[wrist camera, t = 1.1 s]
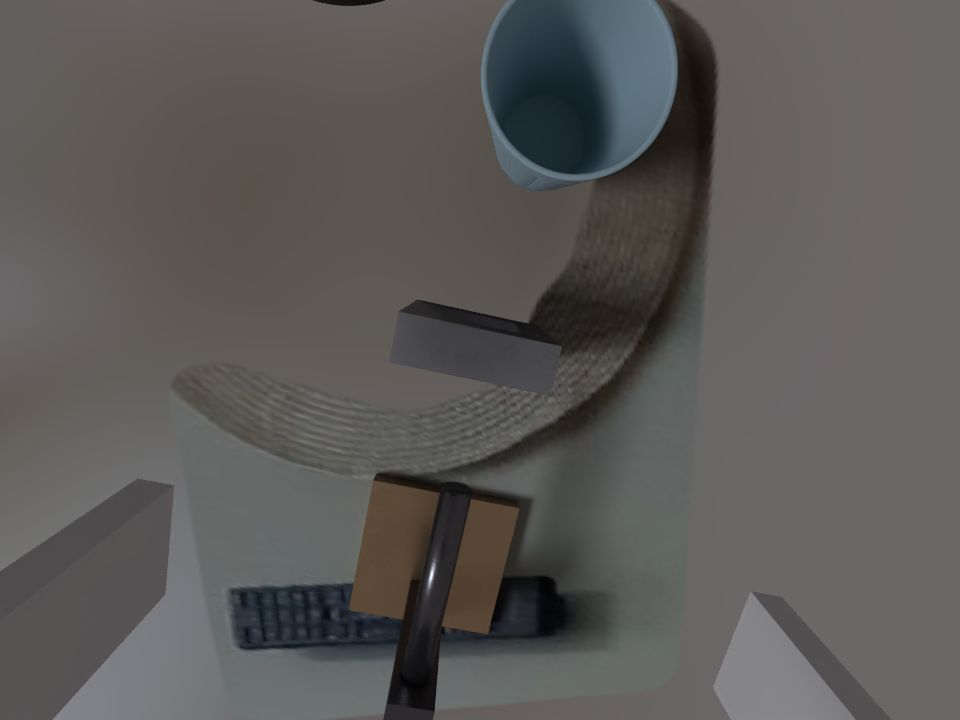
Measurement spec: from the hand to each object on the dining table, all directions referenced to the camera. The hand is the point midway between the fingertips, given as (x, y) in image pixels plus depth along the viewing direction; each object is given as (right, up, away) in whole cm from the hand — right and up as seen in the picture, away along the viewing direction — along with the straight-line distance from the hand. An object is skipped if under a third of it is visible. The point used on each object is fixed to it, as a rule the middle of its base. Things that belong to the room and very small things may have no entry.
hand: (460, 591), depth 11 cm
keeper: (-2, -6, +23) cm, 24 cm away
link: (0, +7, +20) cm, 21 cm away
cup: (+4, +18, +18) cm, 26 cm away
